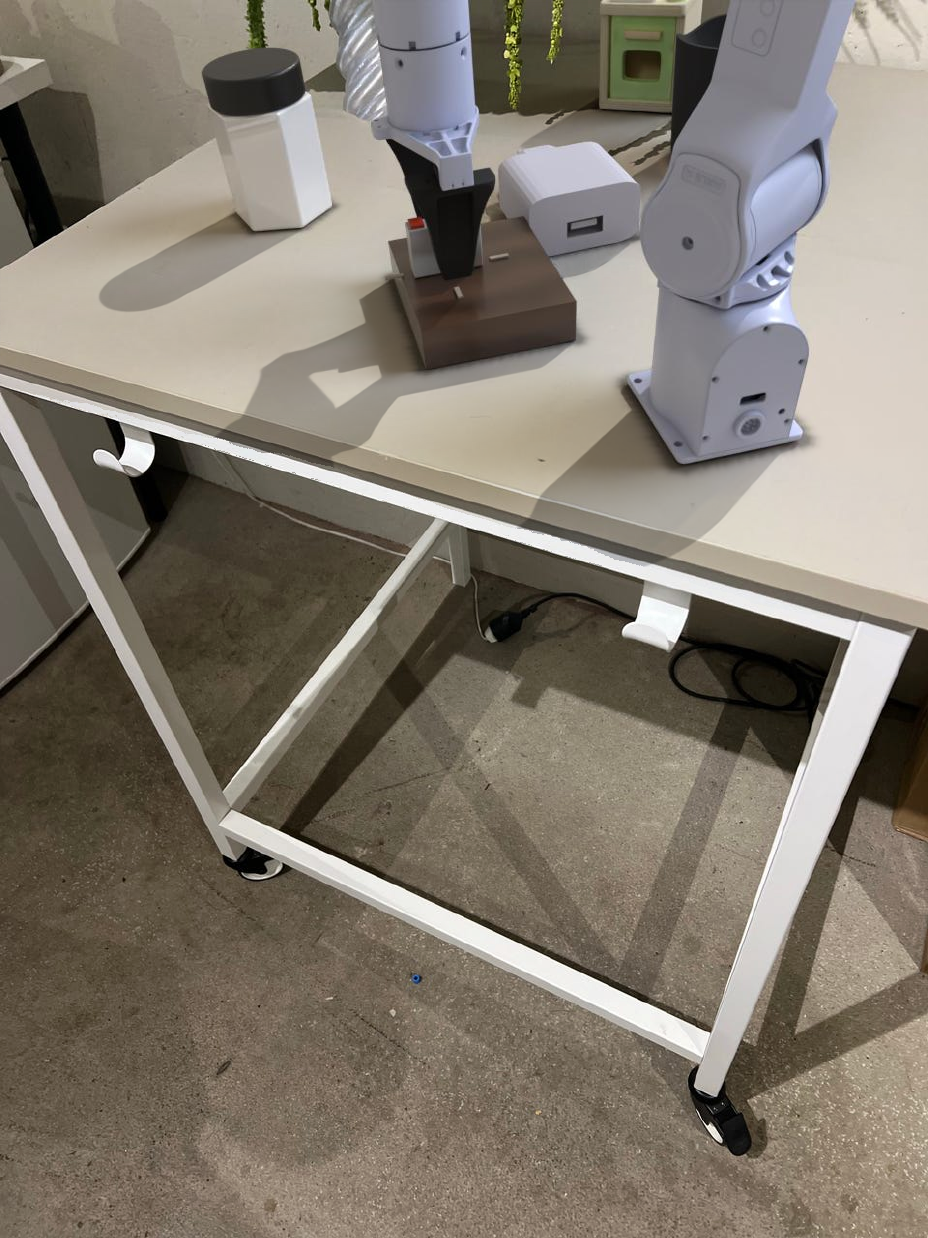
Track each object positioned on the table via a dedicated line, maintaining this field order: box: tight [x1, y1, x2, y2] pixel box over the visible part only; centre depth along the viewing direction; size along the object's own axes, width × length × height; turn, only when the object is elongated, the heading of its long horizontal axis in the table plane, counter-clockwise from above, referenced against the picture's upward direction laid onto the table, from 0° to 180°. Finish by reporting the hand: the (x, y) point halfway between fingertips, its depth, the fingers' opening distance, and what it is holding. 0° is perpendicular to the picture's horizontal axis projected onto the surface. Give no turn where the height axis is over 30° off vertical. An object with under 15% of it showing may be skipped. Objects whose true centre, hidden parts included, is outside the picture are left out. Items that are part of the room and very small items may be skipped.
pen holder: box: [669, 13, 727, 156], centre depth 76 cm, size 9×9×10 cm
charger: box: [497, 141, 642, 257], centre depth 74 cm, size 5×9×15 cm
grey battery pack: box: [404, 216, 483, 278], centre depth 63 cm, size 5×2×4 cm, turn 103°
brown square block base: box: [384, 216, 578, 370], centre depth 65 cm, size 14×12×3 cm
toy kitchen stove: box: [598, 0, 703, 114], centre depth 85 cm, size 8×7×13 cm
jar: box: [201, 47, 333, 232], centre depth 75 cm, size 9×8×12 cm
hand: (445, 251), depth 63 cm, fingers open, 7 cm apart
